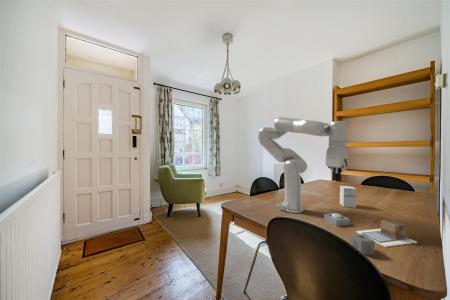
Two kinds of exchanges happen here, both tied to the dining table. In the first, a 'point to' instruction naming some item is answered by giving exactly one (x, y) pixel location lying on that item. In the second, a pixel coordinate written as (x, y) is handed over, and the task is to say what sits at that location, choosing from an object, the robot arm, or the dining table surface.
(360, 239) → the dice cube
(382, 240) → the picture card
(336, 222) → the button housing
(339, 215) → the button
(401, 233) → the walnut block
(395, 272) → the dining table surface
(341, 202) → the supplement box
